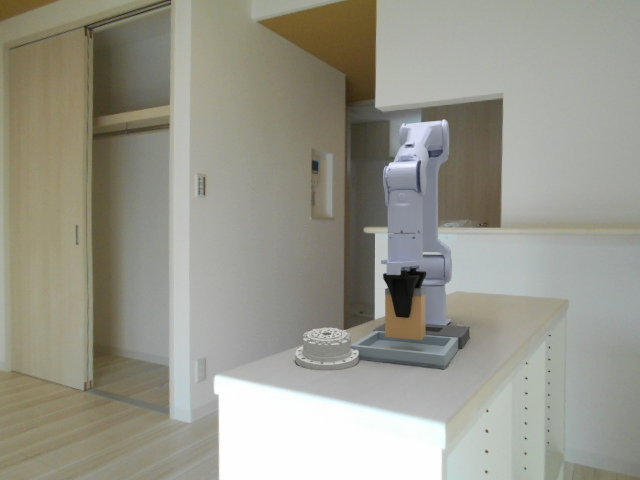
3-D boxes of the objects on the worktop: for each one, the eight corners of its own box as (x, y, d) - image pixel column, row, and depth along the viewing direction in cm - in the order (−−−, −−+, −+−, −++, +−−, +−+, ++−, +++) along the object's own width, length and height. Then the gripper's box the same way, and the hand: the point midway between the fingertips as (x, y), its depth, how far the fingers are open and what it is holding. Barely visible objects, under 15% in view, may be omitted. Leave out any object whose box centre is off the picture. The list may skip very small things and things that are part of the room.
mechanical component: (288, 371, 68) (355, 376, 66) (288, 343, 67) (355, 346, 66) (303, 348, 78) (361, 351, 76) (302, 322, 77) (361, 325, 75)
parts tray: (375, 341, 85) (375, 330, 85) (458, 349, 79) (458, 337, 79) (349, 358, 73) (349, 345, 73) (444, 369, 67) (444, 355, 67)
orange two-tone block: (390, 333, 79) (390, 286, 79) (425, 336, 76) (425, 288, 76) (385, 336, 76) (385, 288, 76) (421, 340, 73) (421, 290, 73)
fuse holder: (389, 330, 95) (389, 320, 95) (469, 337, 88) (469, 327, 88) (373, 340, 86) (373, 329, 86) (461, 348, 79) (461, 337, 79)
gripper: (394, 234, 84) (394, 307, 84) (367, 233, 71) (368, 320, 71) (432, 233, 81) (433, 310, 81) (412, 233, 68) (412, 324, 68)
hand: (405, 315), depth 76 cm, fingers closed on orange two-tone block, 3 cm apart
